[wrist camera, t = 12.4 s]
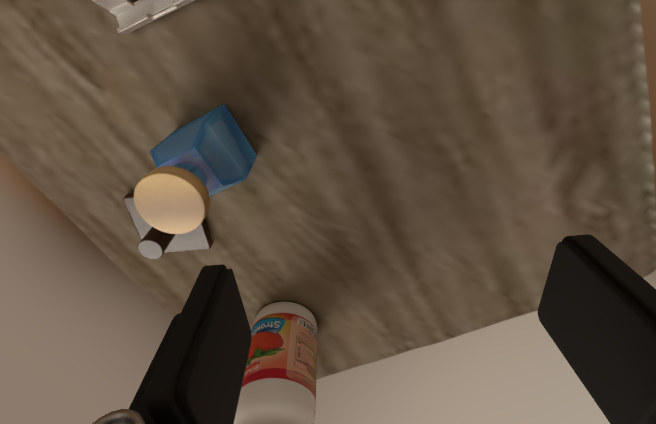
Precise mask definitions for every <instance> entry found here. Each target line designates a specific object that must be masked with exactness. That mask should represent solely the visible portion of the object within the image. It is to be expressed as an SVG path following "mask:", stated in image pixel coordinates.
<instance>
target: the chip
mask: <svg viewBox="0 0 656 424" xmlns="http://www.w3.org/2000/svg"><path fill="white" fill-rule="evenodd" d="M133 197H134V204H135V207H136V209H137V211H138V213H139V215H140V216H141V217H142V218H143V220H145V221H146V222H147V223H148V224H149V225H151V226H152V227H154V228H156V229H158V230H160V231H162V232H166V233H170V234H184V233H188V232H190V231H193V230H194V229H196V228H197V227H198V226H199V225H200V224H201V223H202V221H203V220H204V218H205V216H206V214H207V213H208V210H209V207H210V196H209V193H208V190H207V188H206V186H205V185H204V183H203V182H202V181H201V180H200V179H199V178H198V177H197V176H196V175H194V174H193V173H191V172H190V171H188V170H185V169H183V168H180V167H175V166H163V167H158V168H156V169H153V170H152V171H150V172H149V173H148V174H147V175H146V176H145V177H144V178H143V179H142V180H140V181H139V183H138V184H137V185H136V187H135V190H134V196H133Z"/></svg>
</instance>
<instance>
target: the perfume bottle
mask: <svg viewBox="0 0 656 424" xmlns="http://www.w3.org/2000/svg"><path fill="white" fill-rule="evenodd" d="M150 153H151V155H152V158H153V160H154V163H155V165H156V168H158V167H163V166H175V167H180V168H183V169H185V170H188V171H190V172H191V173H193V174H194V175H196V176H197V177H198V178H199V179H200V180H201V181H202V182H203V183H204V185H205V186H206V188H207V190H208V193H209V196H210V197H211V196H213V195H215V194H217V193H219V192H221V191H223V190H225V189H227V188H229V187H231V186H234V185H236V184H238V183H240V182H242V181H244V180H246V179H247V177H248V174H249V172H250V170H251V168H252V166H253V163H254V161H255V159H256V157H257V154H256V153H255V151H254V150H253V148H252V146H251V145H250V143H249V142H248V140H247V139H246V137H245V135H244V134H243V132H242V131H241V129H240V127H239V126H238V124H237V123H236V121H235V120H234V118H233V116H232V115H231V113H230V112H229V110H228V109H227V107H226V105H225V104H223V105H221V106H219V107H217V108H216V109H214V110H212V111H210V112H208V113H206V114H205V115H203V116H201V117H199V118H197V119H195V120H194V121H192V122H190V123H188V124H186V125H184V126H183V127H181V128H179V129H177V130H175V131H174V132H173V133H172V134H170V135H169V136H168V137H167V138H166V139H164V140H163V141H162V142H161V143H159V144H158V145H157V146H156V147H155V148H153V149H152V150H151V151H150Z"/></svg>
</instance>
